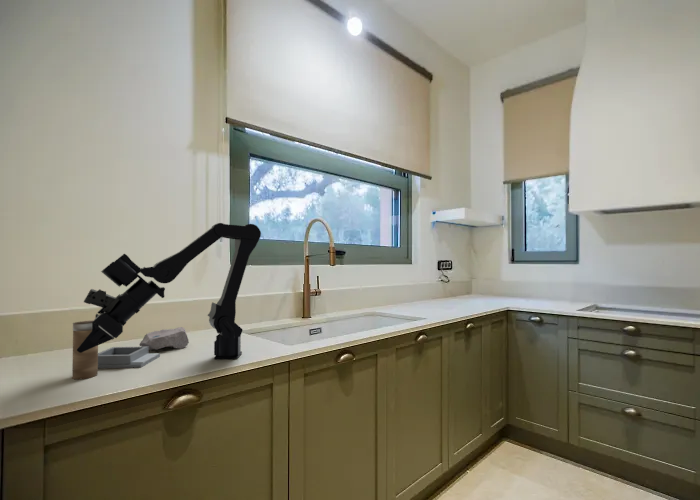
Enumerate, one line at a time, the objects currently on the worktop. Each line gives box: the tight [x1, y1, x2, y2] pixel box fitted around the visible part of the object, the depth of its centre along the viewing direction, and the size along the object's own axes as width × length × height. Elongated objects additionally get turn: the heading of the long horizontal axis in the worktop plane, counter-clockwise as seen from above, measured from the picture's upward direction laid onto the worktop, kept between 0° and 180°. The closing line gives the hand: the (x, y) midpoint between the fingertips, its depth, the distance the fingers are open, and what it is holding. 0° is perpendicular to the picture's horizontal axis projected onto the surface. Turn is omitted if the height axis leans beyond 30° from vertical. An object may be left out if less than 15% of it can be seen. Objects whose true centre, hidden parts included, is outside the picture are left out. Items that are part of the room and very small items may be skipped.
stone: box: [138, 326, 190, 351], centre depth 118 cm, size 13×10×6 cm
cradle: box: [98, 346, 161, 369], centre depth 102 cm, size 16×11×3 cm
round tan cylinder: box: [71, 320, 99, 380], centre depth 90 cm, size 5×5×13 cm
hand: (80, 347), depth 89 cm, fingers open, 9 cm apart
